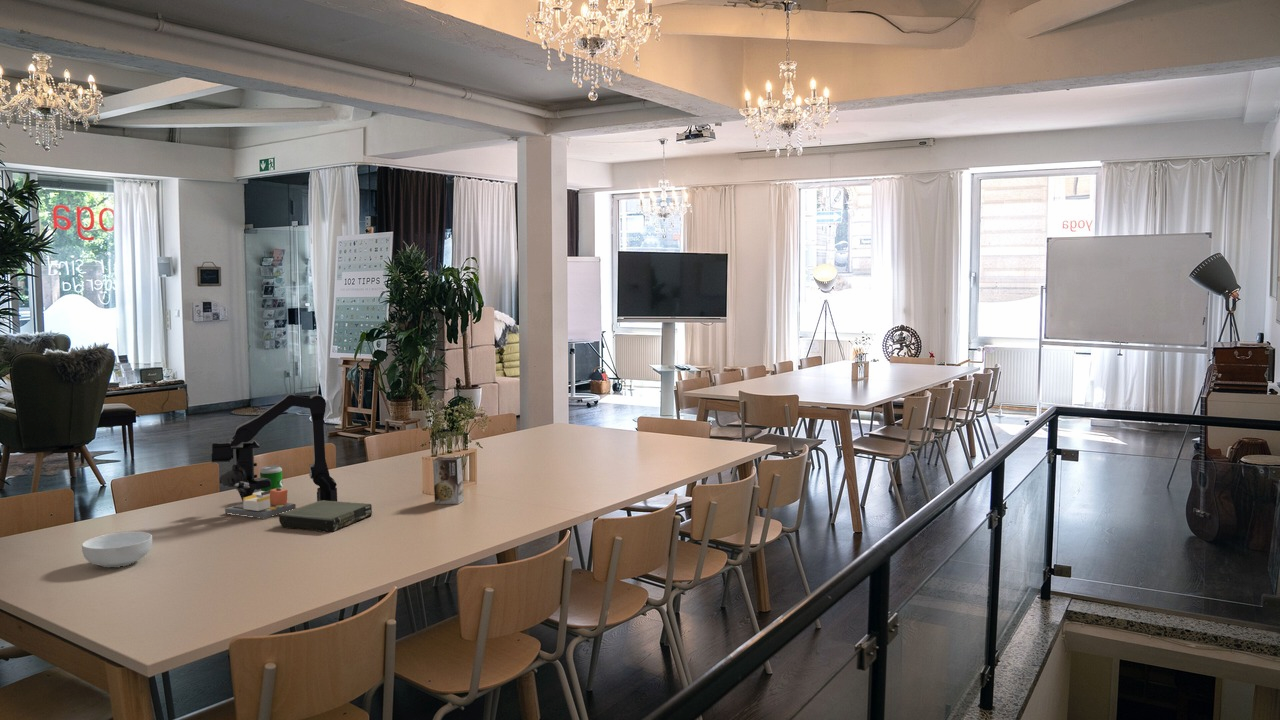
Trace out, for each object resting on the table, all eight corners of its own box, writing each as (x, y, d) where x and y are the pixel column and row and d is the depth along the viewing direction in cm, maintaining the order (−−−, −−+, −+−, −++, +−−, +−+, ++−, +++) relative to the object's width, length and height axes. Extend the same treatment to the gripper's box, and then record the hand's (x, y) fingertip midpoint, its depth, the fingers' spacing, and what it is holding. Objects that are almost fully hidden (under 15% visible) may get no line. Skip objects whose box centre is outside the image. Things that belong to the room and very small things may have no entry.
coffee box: (464, 500, 316) (462, 456, 315) (458, 504, 310) (457, 459, 308) (439, 499, 317) (438, 456, 316) (433, 504, 310) (432, 459, 309)
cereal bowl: (74, 576, 234) (72, 550, 234) (94, 558, 250) (92, 534, 250) (144, 569, 239) (143, 544, 239) (159, 552, 255) (158, 529, 255)
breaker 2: (270, 507, 299) (269, 496, 298) (258, 510, 294) (257, 499, 294) (255, 505, 301) (255, 494, 301) (243, 509, 297) (243, 497, 297)
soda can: (278, 501, 318) (276, 468, 318) (257, 501, 319) (256, 469, 318) (286, 496, 326) (285, 464, 325) (266, 496, 326) (265, 465, 325)
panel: (295, 509, 305) (295, 502, 305) (263, 519, 293) (263, 511, 292) (258, 505, 313) (258, 498, 313) (225, 514, 300) (225, 506, 300)
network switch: (339, 534, 274) (339, 518, 273) (273, 531, 279) (272, 515, 278) (376, 515, 297) (375, 501, 296) (314, 513, 301) (313, 499, 301)
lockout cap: (286, 503, 306) (287, 488, 305) (277, 506, 302) (278, 490, 301) (278, 501, 307) (279, 486, 306) (269, 503, 304) (270, 488, 303)
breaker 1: (274, 500, 309) (273, 489, 308) (262, 503, 304) (262, 492, 304) (260, 499, 312) (259, 488, 311) (248, 502, 307) (248, 490, 307)
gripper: (205, 462, 295) (206, 507, 297) (244, 468, 287) (245, 514, 289) (233, 456, 305) (234, 499, 307) (271, 462, 297) (272, 507, 299)
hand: (245, 505), depth 300 cm, fingers closed
